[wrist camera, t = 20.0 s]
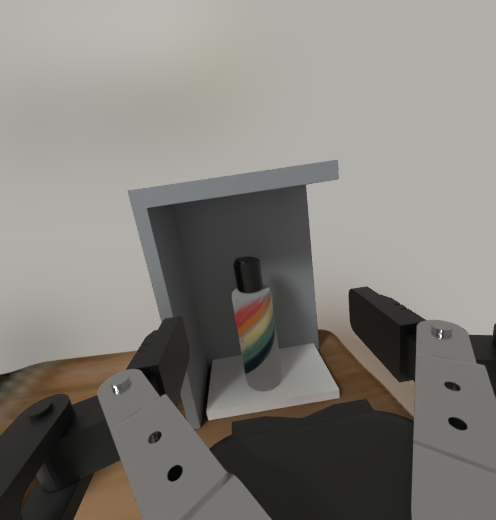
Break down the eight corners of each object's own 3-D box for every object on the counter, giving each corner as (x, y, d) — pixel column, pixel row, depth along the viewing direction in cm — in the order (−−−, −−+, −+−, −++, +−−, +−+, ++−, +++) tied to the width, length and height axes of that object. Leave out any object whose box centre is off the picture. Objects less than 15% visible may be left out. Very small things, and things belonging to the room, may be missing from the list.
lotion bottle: (244, 370, 42) (224, 256, 37) (277, 363, 42) (262, 250, 37) (249, 396, 36) (226, 266, 31) (286, 387, 37) (270, 258, 32)
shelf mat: (208, 420, 35) (206, 411, 35) (213, 366, 46) (212, 359, 46) (339, 398, 36) (339, 389, 35) (314, 350, 47) (313, 343, 46)
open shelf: (189, 429, 34) (127, 190, 26) (201, 363, 48) (163, 192, 40) (349, 402, 35) (337, 159, 27) (316, 344, 48) (302, 172, 40)
